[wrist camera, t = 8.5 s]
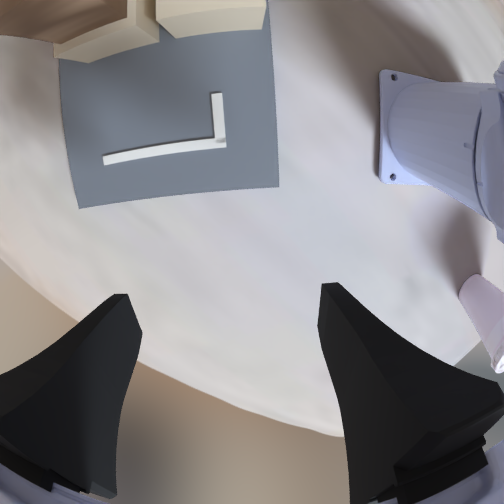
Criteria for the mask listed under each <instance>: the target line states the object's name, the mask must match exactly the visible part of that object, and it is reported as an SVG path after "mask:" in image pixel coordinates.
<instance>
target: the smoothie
mask: <svg viewBox="0 0 504 504" xmlns="http://www.w3.org/2000/svg"><path fill="white" fill-rule="evenodd" d="M459 301H460V302H461V304H462V306H463V307H464V309H465V311H466V312H467V314H468V316H469V318H470V319H471V321H472V323H473V325H474V326H475V328H476V330H477V332H478V334H479V336H480V338H481V340H482V341H483V343H484V345H485V347H486V350H487V351H488V353H489V355H490V357H491V359H492V361H491V366H492V368H493V369H494V370H495V372H496V373H501V372H504V292H502V291H501V290H500V289H499V288H497V287H496V286H495V285H493V284H492V283H491V282H489V281H488V280H486V279H485V278H484V277H482V276H481V275H479V274H474V275H472V276H471V277H469V278H468V279H467V280H466V281H465V282H464V284H463V285H462V287H461V289H460V292H459Z"/></svg>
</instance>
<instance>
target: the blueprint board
mask: <svg viewBox="0 0 504 504" xmlns="http://www.w3.org/2000/svg"><path fill="white" fill-rule="evenodd" d="M53 57H54V58H59V74H60V94H61V107H62V117H63V126H64V134H65V141H66V147H67V154H68V159H69V165H70V170H71V175H72V180H73V185H74V189H75V194H76V198H77V202H78V206H79V209H81V208H87V207H93V206H99V205H106V204H112V203H119V202H126V201H133V200H140V199H148V198H156V197H164V196H173V195H182V194H192V193H203V192H214V191H226V190H239V189H254V188H271V187H279V165H278V141H277V120H276V102H275V86H274V70H273V56H272V43H271V31H270V19H269V8H268V0H127V18H124V19H121V20H118V21H116V22H113V23H110V24H107V25H104V26H102V27H99V28H97V29H94V30H92V31H89V32H87V33H84V34H82V35H80V36H78V37H75V38H73V39H71V40H69V41H67V42H65V43H63V44H57V43H54V45H53Z"/></svg>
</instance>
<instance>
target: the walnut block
mask: <svg viewBox="0 0 504 504" xmlns="http://www.w3.org/2000/svg"><path fill="white" fill-rule="evenodd" d="M124 18H127V0H0V35H8V36H16V37H24V38H30V39H36V40H42V41H47V42H52V43H57V44H63V43H65V42H67V41H69V40H71V39H73V38H75V37H78V36H80V35H82V34H84V33H87V32H89V31H92V30H94V29H97V28H99V27H102V26H104V25H107V24H110V23H113V22H116V21H118V20H121V19H124Z"/></svg>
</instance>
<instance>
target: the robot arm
mask: <svg viewBox="0 0 504 504" xmlns="http://www.w3.org/2000/svg"><path fill="white" fill-rule="evenodd" d="M391 75H394V76H395V80H394V81H393V80H392V78H391ZM494 79H495V83H496V84H491V83H473V82H439V81H435V80H432V79H428V78H424V77H420V76H416V75H412V74H408V73H403V72H398V71H393V70H388V69H384V70H382V71H380V73H379V83H380V159H379V179H380V181H381V182H383V183H385V184H411V185H431V186H433V187H435V188H437V189H439V190H440V191H442V192H444V193H446V194H448V195H449V196H451V197H453V198H454V199H456V200H458V201H460V202H461V203H463V204H464V205H466V206H468V207H469V208H471V209H473V210H474V211H476V212H477V213H479V214H480V215H482V216H483V217H485V218H487V219H488V220H489V221H491V222H492V223H493V224H494V225H495V227H496V231H497V239H498V240H500V241H501V242H502V243H503V244H504V61H502V62H501V64H500V66H499V68H498V70H497V71H495V73H494ZM391 174H394V177H393V178H392V179H390V175H391ZM317 326H318V332H319V337H320V342H321V347H322V351H323V354H324V358H325V361H326V364H327V367H328V370H329V373H330V376H331V379H332V383H333V386H334V389H335V392H336V395H337V399H338V403H339V407H340V412H341V417H342V423H343V429H344V436H345V443H346V450H347V461H348V471H349V488H350V504H504V439H503V440H502V441H501V442H499V443H498V444H496V445H495V446H493V447H492V448H490V449H489V450H488V451H486V452H485V453H484V451H483V449H482V446H484V445H485V444H486V440H485V438H484V436H483V435H484V433H486V432H487V431H488V430H489V429H490V428H491V427H492V426H493V425H494V424H495V423H496V422H497V421H498V420H499V419H500V418H501V417H502V416H503V415H504V393H503V392H502V390H501V388H500V386H499V385H498V383H497V382H494V381H491V380H488V379H485V378H481V377H479V376H475V375H472V374H470V373H467V372H465V371H462V370H460V369H458V368H456V367H453V366H451V365H449V364H447V363H445V362H443V361H441V360H439V359H437V358H435V357H433V356H432V355H430V354H428V353H426V352H424V351H423V350H421V349H419V348H418V347H416V346H415V345H413V344H412V343H410V342H409V341H407V340H406V339H404V338H403V337H401V336H400V335H399V334H397V333H396V332H394V331H393V330H392V329H391V328H389V327H388V326H387V325H386V324H384V323H383V322H382V321H381V320H379V319H378V318H377V317H376V316H375V315H373V314H372V313H371V312H370V311H369V310H368V309H367V308H365V307H364V306H363V305H362V304H361V303H360V302H359V301H358V300H357V299H356V298H354V297H353V296H352V295H351V294H350V293H349V292H348V291H347V290H346V289H345V288H344V287H343V286H342V285H340V284H339V283H338V282H336V283H325V284H322V286H321V297H320V307H319V316H318V325H317ZM141 339H142V330H141V328H140V325H139V323H138V320H137V318H136V315H135V313H134V310H133V307H132V305H131V302H130V299H129V296H128V294H114V295H112V296H111V297H109V298H108V299H107V300H105V301H104V302H103V303H102V304H100V305H99V306H98V307H97V308H96V309H95V310H93V311H92V312H91V313H90V314H89V315H87V316H86V317H85V318H84V319H83V320H82V321H80V322H79V323H78V324H77V325H76V326H75V327H73V328H72V329H71V330H70V331H68V332H67V333H66V334H65V335H63V336H62V337H61V338H60V339H59V340H57V341H56V342H55V343H53V344H52V345H51V346H49V347H48V348H46V349H45V350H44V351H42V352H41V353H39V354H38V355H36V356H35V357H33V358H31V359H29V360H28V361H26V362H24V363H23V364H21V365H19V366H17V367H16V368H14V369H12V370H10V371H8V372H5V373H3V374H1V375H0V504H109V503H106V502H103V501H99V500H97V499H93V498H91V497H88V496H85V495H83V494H80V493H79V492H80V491H82V492H84V493H87V494H89V493H93V494H96V495H99V496H102V497H105V498H109V499H111V498H114V497H115V496H116V495H117V488H116V445H117V436H118V427H119V421H120V414H121V409H122V405H123V401H124V398H125V395H126V391H127V388H128V385H129V382H130V379H131V376H132V373H133V370H134V367H135V364H136V361H137V358H138V354H139V349H140V344H141Z"/></svg>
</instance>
